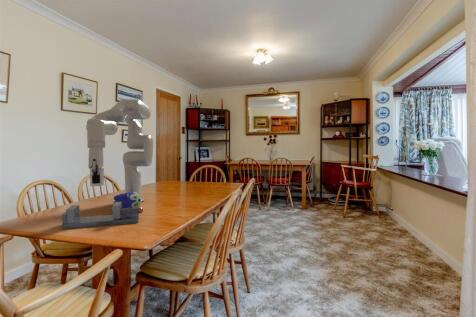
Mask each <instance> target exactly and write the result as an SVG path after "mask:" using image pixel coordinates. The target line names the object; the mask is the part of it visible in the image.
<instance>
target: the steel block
mask: <svg viewBox="0 0 476 317" xmlns="http://www.w3.org/2000/svg"><path fill="white" fill-rule="evenodd" d="M104 170H105V168H103V167H102V168H100V169H99V175H100V183H98V184H93V183H92V169H89V182H90V187H103V186H104V185H105V171H104Z"/></svg>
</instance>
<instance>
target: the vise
mask: <svg viewBox="0 0 476 317" xmlns="http://www.w3.org/2000/svg"><path fill="white" fill-rule="evenodd" d="M80 213H81V211H80V204H75V205H74V204H73V205H70V206H69V207H68V208H67V209H65V212H64V213H62V214H61V229H62V230H67V229H80V228H89V227H90V228H91V227H92V228H93V227H102V226H103V227H105V226H116V225H127V224H128V225H129V224H138V223H139V219H140V213H139V214H126V215H122V216H121V218H120V219H113V214H111V215H110V214H109V215H97V216H83V217H81V214H80Z"/></svg>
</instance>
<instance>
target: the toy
mask: <svg viewBox="0 0 476 317" xmlns="http://www.w3.org/2000/svg"><path fill="white" fill-rule="evenodd" d="M141 198H142V196H141V197H140V195H139V194H138V193H137V192H127V193H125V192H123V193H120V194H117V195H115V196H113V200H114V201H113V204H114V203H115V202H122V209H123V208H137V207H140V206H141V204H142V202H141Z"/></svg>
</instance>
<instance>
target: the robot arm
mask: <svg viewBox="0 0 476 317" xmlns="http://www.w3.org/2000/svg"><path fill="white" fill-rule="evenodd" d="M151 115H152V114H151V108H150V107H149V106H148V105H147V104H146V103H144V102H143V101H142V100H139V99H137V98H135V99H133V98H132V99H131V98H129V99H126V98H125V99H120V100H118V102H116V103H115V104H114V106H112V107H111V108H110V109H107V110H105V111H102V112H99V113H97V114H95V115H93V116H92V117H91V118H88V119H87V121H86V125H85V127H86V128H85V129H86V133H87V135H86V137H87V139H86V141H87V143H86V144H87V149H88V164H87V165H88V169H89V170H90V169H92V183H93V184H98V183H100V175H99V169H100V168H103V167H104V149H106V136H113V135H115V134H117V132H118V125H117V124H119V123H121V122H123V121H124V120H125V123H126V125H127V138H126V139H127V140H126V147H127V148H128V149H129V150H131V151H126V152H124V153H123V155H122V162H123V167H124V169H123V170H124V193H127V192H137V193H138V194H139V195H140V197H141V203H142V202H144V201H145V199H144V197H142V173H141V170H140V169H139V167H150V166H151V165H152V163H153V153H154V139H153V137H152V136H151V134H143V126H142V125H141V123H140V122H139V120H141V121H142V120H144V121H146V120H149V119H150V118H151ZM137 150H139V151H137ZM140 150H143V151H140Z"/></svg>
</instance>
